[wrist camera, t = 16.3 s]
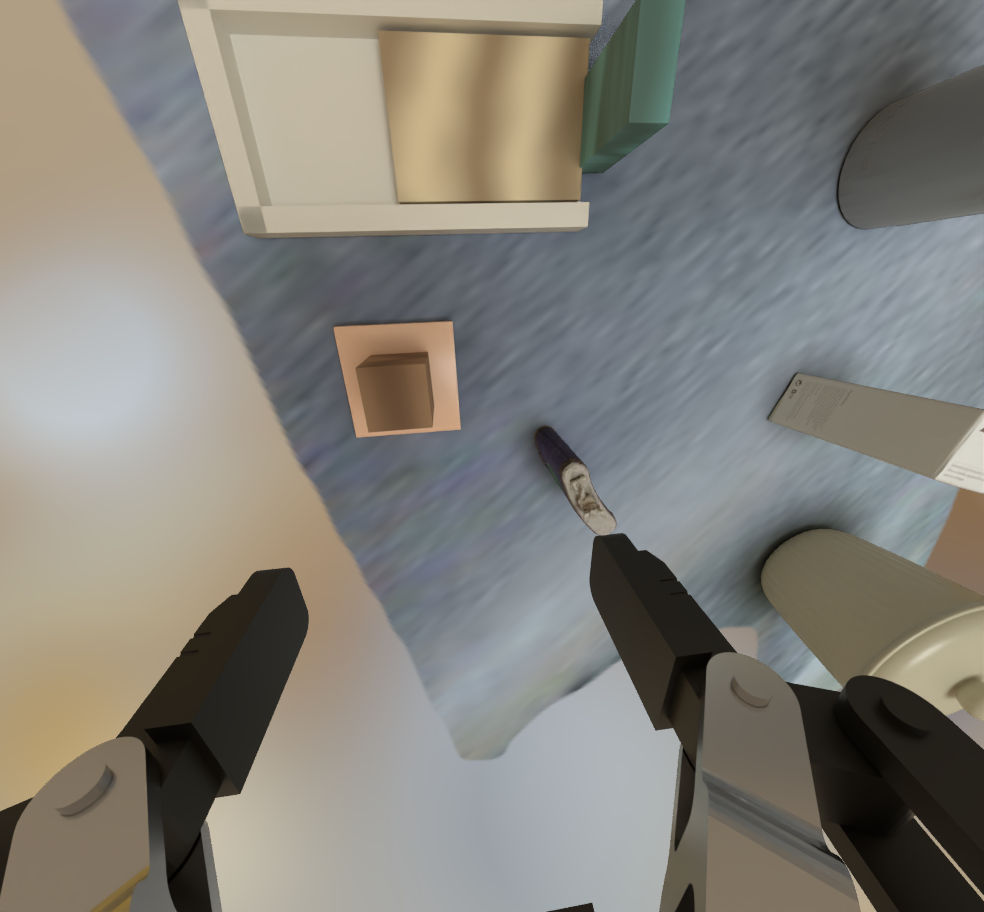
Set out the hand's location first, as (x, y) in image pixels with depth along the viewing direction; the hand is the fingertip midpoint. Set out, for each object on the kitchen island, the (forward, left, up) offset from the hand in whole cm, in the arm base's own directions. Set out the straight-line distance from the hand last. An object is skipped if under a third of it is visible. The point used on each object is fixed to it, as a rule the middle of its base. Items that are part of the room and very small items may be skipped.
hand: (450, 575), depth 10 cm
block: (+3, +2, -25) cm, 26 cm away
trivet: (+4, +2, -27) cm, 27 cm away
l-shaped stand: (+1, -19, -26) cm, 32 cm away
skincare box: (-40, -8, -27) cm, 49 cm away
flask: (-14, +6, -27) cm, 31 cm away
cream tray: (+7, -16, -27) cm, 32 cm away
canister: (-55, +12, -27) cm, 63 cm away
